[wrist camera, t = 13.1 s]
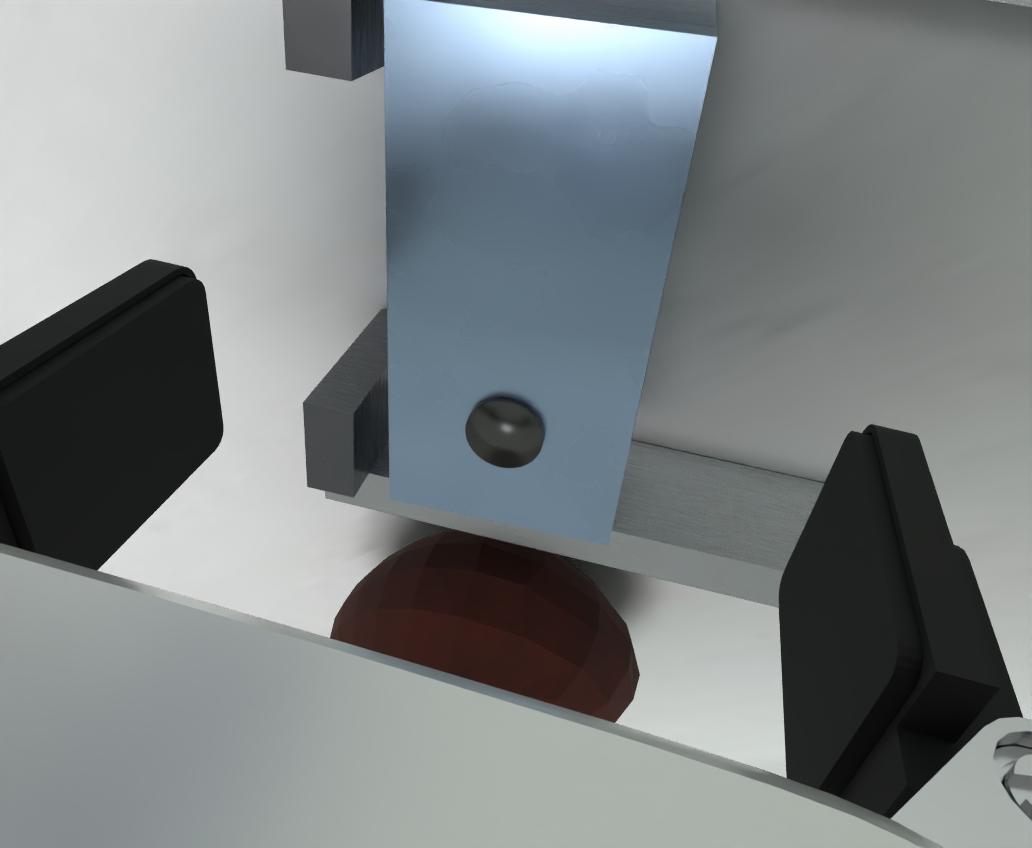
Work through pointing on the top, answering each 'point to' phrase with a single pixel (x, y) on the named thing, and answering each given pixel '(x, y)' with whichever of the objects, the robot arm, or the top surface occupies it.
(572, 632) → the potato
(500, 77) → the lock block
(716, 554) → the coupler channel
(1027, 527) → the top surface
